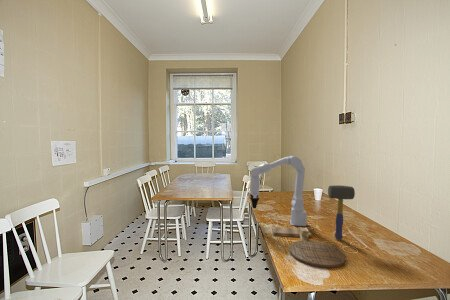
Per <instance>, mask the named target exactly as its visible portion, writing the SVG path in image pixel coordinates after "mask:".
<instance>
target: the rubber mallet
mask: <svg viewBox="0 0 450 300" xmlns="http://www.w3.org/2000/svg"><path fill="white" fill-rule="evenodd" d="M327 195H328V198H330V199H336V200H337V212H336V216H335V232H334V238H335V240H337V241H341V240H342V239H343V237H344V236H343V225H344V214H343V210H344V209H343V205H344V200H354V198H355V195H356V192H355V188H354V187H353V186H349V185H334V184H333V185H329V186H328V188H327Z"/></svg>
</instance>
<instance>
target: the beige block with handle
mask: <svg viewBox="0 0 450 300" xmlns="http://www.w3.org/2000/svg"><path fill="white" fill-rule="evenodd" d="M297 228H298V229H299V231H300V237H299V238H300V241H304V240H308V241H309V238H310V237H309V232H310V230H309V229H308V228H307V227H302V226H297ZM308 230H309V231H308Z"/></svg>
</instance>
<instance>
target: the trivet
mask: <svg viewBox="0 0 450 300" xmlns="http://www.w3.org/2000/svg"><path fill="white" fill-rule="evenodd" d="M289 254H290V256H291V257H292V258H294V259H295V260H296V261H298V262H299V263H301V264H304V265H307V266H310V267H313V268H318V269H337V268H341V267H343V266H344V265H345V264H346V261H347V260H346V259H347V257H346V255H345V253H344V252H343V251H342V250H341V249H339V248H337V247H335V246H333V245H332V244H328V243H326V242H322V241H315V240H309V239H308V240H304V241H301V240H297V241H294V242H292V243H291V244H290V246H289Z"/></svg>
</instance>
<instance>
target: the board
mask: <svg viewBox="0 0 450 300" xmlns="http://www.w3.org/2000/svg"><path fill="white" fill-rule="evenodd" d="M308 231H309V238H312V236H313V235H312V233H311V231H310V230H309V229H308ZM271 232H272V235H273V236H276V237H277V236H280V237H292V238H293V237H297V238H300V231H299V229H298V227H280V226H279V227H278V226H272V227H271Z"/></svg>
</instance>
